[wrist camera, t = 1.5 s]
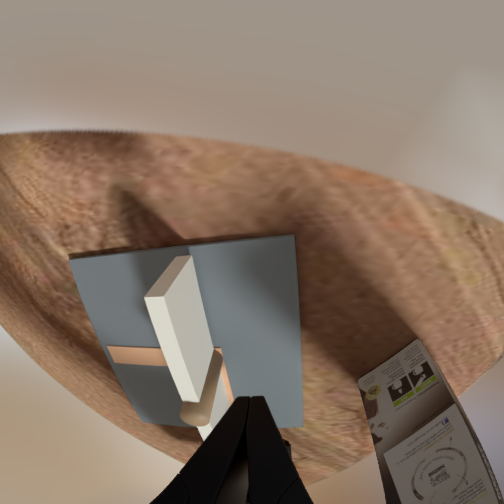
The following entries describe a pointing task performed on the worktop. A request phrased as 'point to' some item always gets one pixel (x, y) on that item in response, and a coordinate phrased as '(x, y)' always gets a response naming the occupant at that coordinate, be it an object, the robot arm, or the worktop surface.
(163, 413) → the card
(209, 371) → the fence post and panel
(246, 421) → the robot arm
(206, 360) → the fence gate panel
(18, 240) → the worktop surface
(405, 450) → the coffee box
